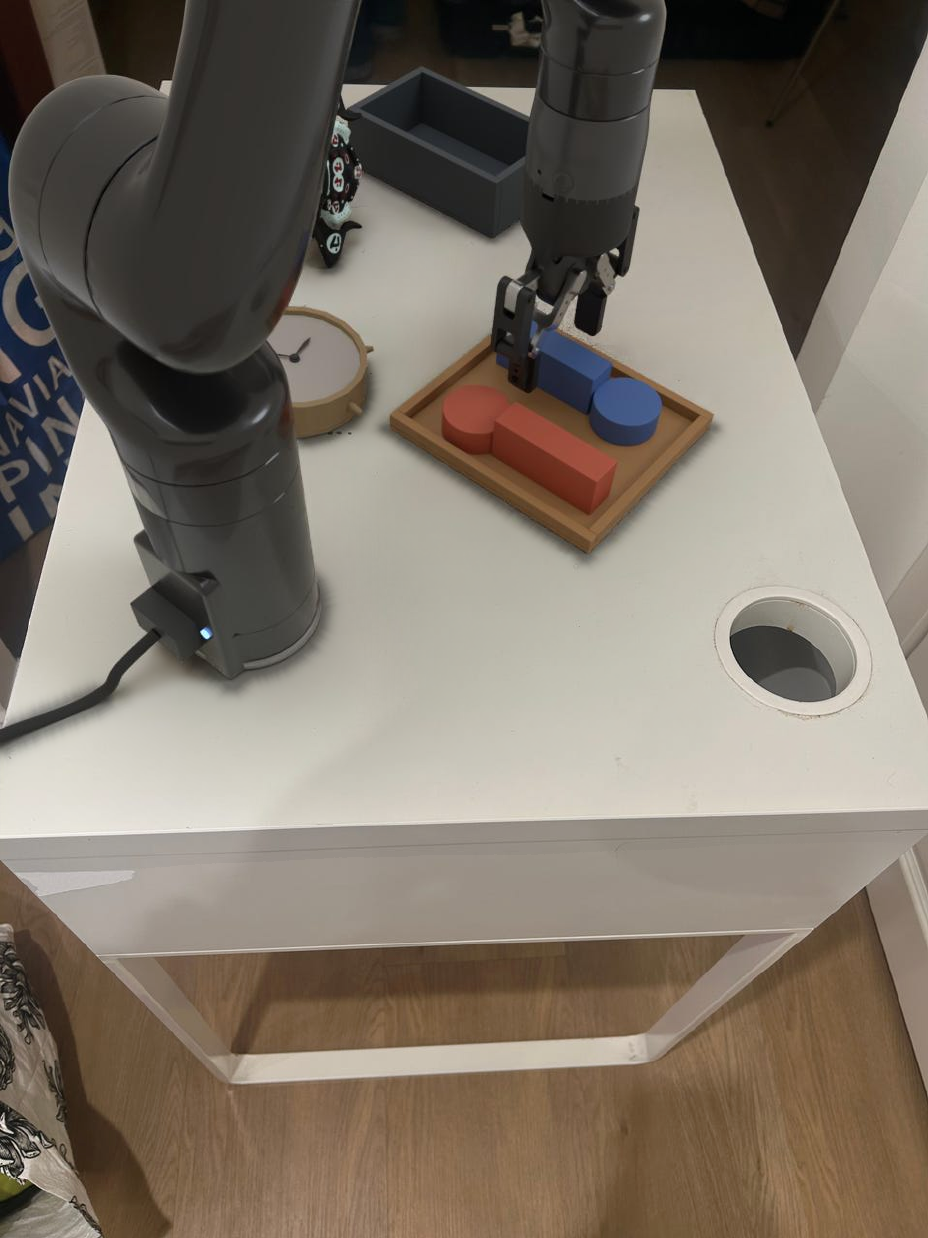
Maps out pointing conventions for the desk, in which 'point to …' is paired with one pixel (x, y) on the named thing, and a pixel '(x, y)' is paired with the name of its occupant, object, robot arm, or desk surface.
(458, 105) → the bin
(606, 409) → the blue spoon
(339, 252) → the figurine
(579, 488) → the red spoon
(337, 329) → the alarm clock
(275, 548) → the robot arm
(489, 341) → the tray
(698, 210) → the desk surface
